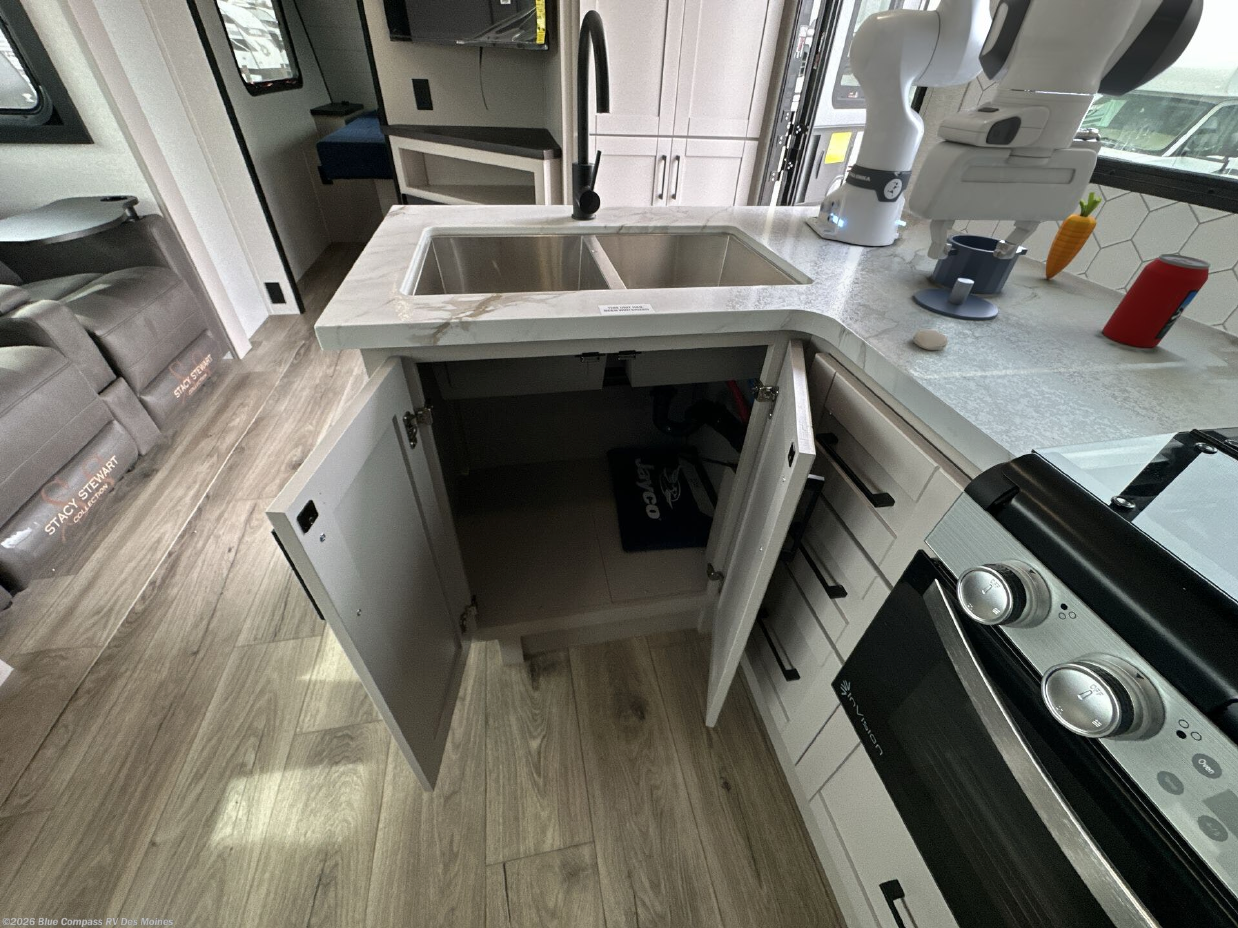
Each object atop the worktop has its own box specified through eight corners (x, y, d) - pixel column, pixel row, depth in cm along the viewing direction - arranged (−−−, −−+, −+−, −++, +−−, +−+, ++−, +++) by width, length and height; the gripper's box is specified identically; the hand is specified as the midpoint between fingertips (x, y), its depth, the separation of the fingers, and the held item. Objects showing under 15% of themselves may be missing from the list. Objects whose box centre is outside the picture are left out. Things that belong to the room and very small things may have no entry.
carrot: (1058, 285, 97) (1110, 197, 87) (1029, 277, 100) (1076, 192, 90) (1066, 280, 99) (1116, 194, 90) (1037, 273, 102) (1083, 189, 93)
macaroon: (945, 348, 72) (953, 331, 70) (938, 361, 69) (947, 343, 67) (912, 339, 74) (920, 323, 72) (905, 351, 71) (912, 334, 69)
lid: (897, 295, 88) (907, 268, 85) (959, 294, 90) (972, 267, 87) (944, 325, 79) (957, 295, 76) (1013, 323, 81) (1029, 294, 78)
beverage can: (1164, 354, 74) (1231, 270, 66) (1113, 348, 75) (1172, 264, 67) (1137, 335, 79) (1196, 255, 72) (1089, 330, 80) (1142, 250, 72)
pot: (904, 276, 97) (921, 234, 92) (981, 275, 99) (1001, 234, 95) (944, 298, 88) (964, 253, 83) (1027, 296, 91) (1051, 253, 86)
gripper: (1084, 126, 59) (1020, 250, 68) (928, 119, 56) (882, 250, 64) (1136, 132, 54) (1060, 265, 63) (968, 125, 51) (913, 266, 60)
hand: (969, 258), depth 64 cm, fingers open, 8 cm apart
